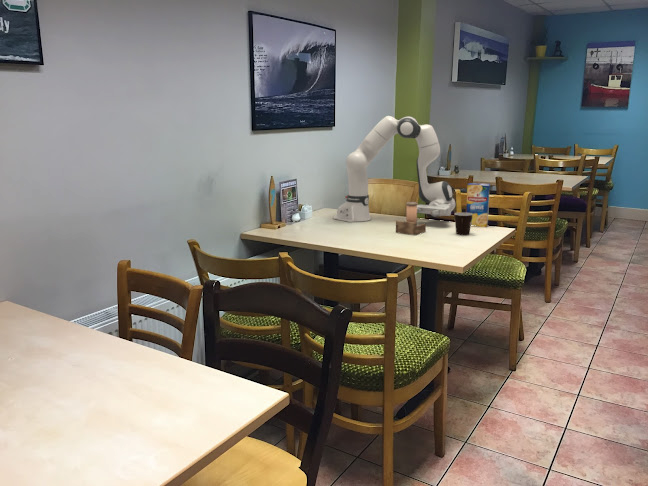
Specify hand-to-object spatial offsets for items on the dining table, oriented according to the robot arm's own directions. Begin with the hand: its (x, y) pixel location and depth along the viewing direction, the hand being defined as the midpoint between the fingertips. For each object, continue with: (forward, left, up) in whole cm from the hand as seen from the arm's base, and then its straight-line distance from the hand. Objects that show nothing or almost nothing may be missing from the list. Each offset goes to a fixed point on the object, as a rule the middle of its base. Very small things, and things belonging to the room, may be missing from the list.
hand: (423, 212), depth 283 cm
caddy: (0, -12, -8) cm, 15 cm away
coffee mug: (+23, -3, -9) cm, 25 cm away
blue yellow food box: (+20, +22, -9) cm, 31 cm away
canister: (0, -12, -8) cm, 15 cm away
